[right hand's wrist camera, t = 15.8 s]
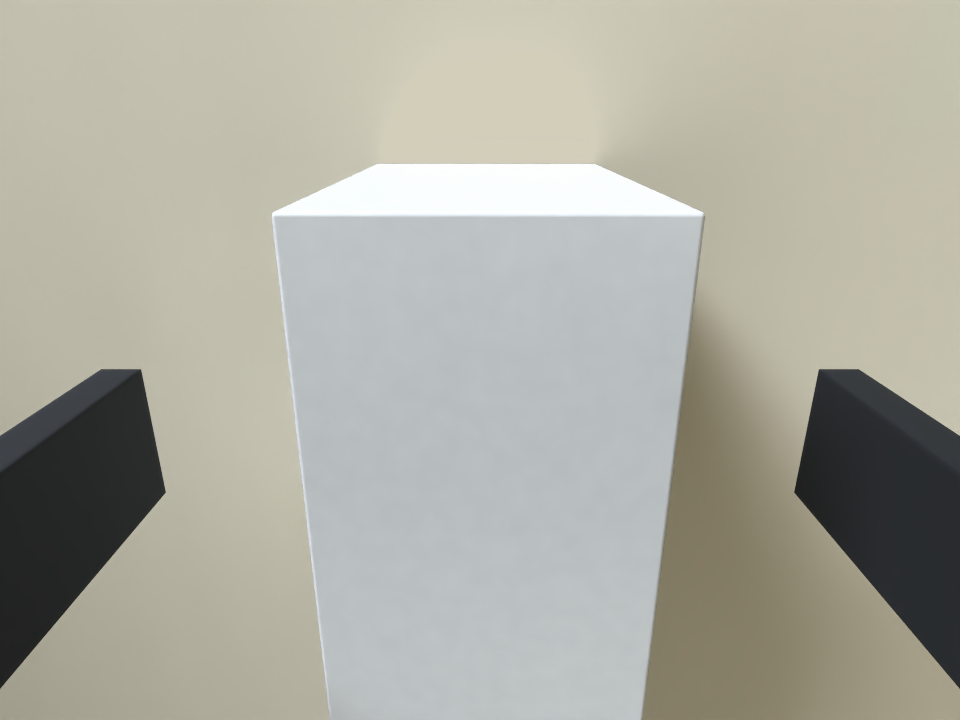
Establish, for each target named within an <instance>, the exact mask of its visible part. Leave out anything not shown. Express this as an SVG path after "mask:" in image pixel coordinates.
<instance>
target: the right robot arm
mask: <svg viewBox="0 0 960 720" xmlns="http://www.w3.org/2000/svg"><path fill="white" fill-rule="evenodd" d="M165 493H166V492H165V487H164V482H163V477H162V472H161V467H160V462H159V457H158V452H157V447H156V442H155V437H154V432H153V427H152V422H151V417H150V412H149V407H148V402H147V397H146V392H145V387H144V382H143V377H142V372H141V369H101V370H100V371H98V372H97V373H95V374H94V375H92V376H91V377H89V378H88V379H86V380H84V381H83V382H81V383H80V384H78V385H77V386H75V387H74V388H72V389H71V390H69V391H68V392H66V393H65V394H63V395H62V396H60V397H59V398H57V399H56V400H54V401H53V402H51V403H50V404H48V405H47V406H45V407H44V408H42V409H40V410H39V411H37V412H36V413H34V414H33V415H31V416H30V417H28V418H27V419H25V420H24V421H22V422H21V423H19V424H18V425H16V426H15V427H13V428H12V429H10V430H9V431H7V432H6V433H4V434H3V435H1V436H0V688H1V687H2V686H3V685H4V683H5V682H6V681H7V680H8V679H9V678H10V676H11V675H12V674H13V673H14V672H15V670H16V669H17V668H18V667H19V666H20V664H21V663H22V662H23V661H24V660H25V659H26V657H27V656H28V655H29V654H30V653H31V651H32V650H33V649H34V648H35V647H36V646H37V644H38V643H39V642H40V641H41V640H42V638H43V637H44V636H45V635H46V634H47V633H48V631H49V630H50V629H51V628H52V627H53V625H54V624H55V623H56V622H57V621H58V619H59V618H60V617H61V616H62V615H63V614H64V612H65V611H66V610H67V609H68V608H69V606H70V605H71V604H72V603H73V602H74V601H75V599H76V598H77V597H78V596H79V595H80V593H81V592H82V591H83V590H84V589H85V587H86V586H87V585H88V584H89V583H90V582H91V580H92V579H93V578H94V577H95V576H96V574H97V573H98V572H99V571H100V570H101V569H102V567H103V566H104V565H105V564H106V563H107V561H108V560H109V559H110V558H111V557H112V555H113V554H114V553H115V552H116V551H117V550H118V548H119V547H120V546H121V545H122V544H123V542H124V541H125V540H126V539H127V538H128V537H129V535H130V534H131V533H132V532H133V531H134V529H135V528H136V527H137V526H138V525H139V523H140V522H141V521H142V520H143V519H144V518H145V516H146V515H147V514H148V513H149V512H150V510H151V509H152V508H153V507H154V506H155V505H156V503H157V502H158V501H159V500H160V499H161V497H162V496H163V495H164V494H165ZM794 493H795V494H796V495H797V496H798V497H799V499H800V500H801V501H802V502H803V503H804V505H805V506H806V507H807V508H808V509H809V510H810V512H811V513H812V514H813V515H814V516H815V518H816V519H817V520H818V521H819V522H820V523H821V525H822V526H823V527H824V528H825V529H826V531H827V532H828V533H829V534H830V535H831V537H832V538H833V539H834V540H835V541H836V542H837V544H838V545H839V546H840V547H841V548H842V550H843V551H844V552H845V553H846V554H847V555H848V557H849V558H850V559H851V560H852V561H853V563H854V564H855V565H856V566H857V567H858V569H859V570H860V571H861V572H862V573H863V574H864V576H865V577H866V578H867V579H868V580H869V582H870V583H871V584H872V585H873V586H874V587H875V589H876V590H877V591H878V592H879V593H880V595H881V596H882V597H883V598H884V599H885V601H886V602H887V603H888V604H889V605H890V606H891V608H892V609H893V610H894V611H895V612H896V614H897V615H898V616H899V617H900V618H901V619H902V621H903V622H904V623H905V624H906V625H907V627H908V628H909V629H910V630H911V631H912V633H913V634H914V635H915V636H916V637H917V638H918V640H919V641H920V642H921V643H922V644H923V646H924V647H925V648H926V649H927V650H928V651H929V653H930V654H931V655H932V656H933V657H934V659H935V660H936V661H937V662H938V663H939V665H940V666H941V667H942V668H943V669H944V670H945V672H946V673H947V674H948V675H949V676H950V678H951V679H952V680H953V681H954V682H955V683H956V685H957V686H958V687H959V688H960V436H959V435H957V434H956V433H954V432H953V431H951V430H950V429H948V428H947V427H945V426H944V425H942V424H941V423H939V422H938V421H936V420H935V419H933V418H932V417H930V416H929V415H927V414H926V413H924V412H923V411H921V410H920V409H918V408H916V407H915V406H913V405H912V404H910V403H909V402H907V401H906V400H904V399H903V398H901V397H900V396H898V395H897V394H895V393H894V392H892V391H891V390H889V389H888V388H886V387H885V386H883V385H882V384H880V383H879V382H877V381H876V380H874V379H872V378H871V377H869V376H868V375H866V374H865V373H863V372H862V371H860V370H859V369H819V372H818V377H817V382H816V387H815V392H814V397H813V402H812V407H811V412H810V417H809V422H808V427H807V432H806V437H805V442H804V447H803V452H802V457H801V462H800V467H799V472H798V477H797V482H796V487H795V492H794Z"/></svg>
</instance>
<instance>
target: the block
mask: <svg viewBox="0 0 960 720" xmlns="http://www.w3.org/2000/svg"><path fill="white" fill-rule="evenodd" d="M704 221H705V215H704V213H703V212H701V211H699V210H696V209H694V208H692V207H690V206H687V205H685V204H683V203H681V202H678V201H676V200H674V199H672V198H670V197H667V196H665V195H663V194H661V193H658V192H656V191H654V190H652V189H650V188H647V187H645V186H643V185H641V184H638V183H636V182H634V181H632V180H629V179H627V178H625V177H623V176H620V175H618V174H616V173H614V172H612V171H609V170H607V169H605V168H603V167H600V166H598V165H596V164H377V165H374V166H372V167H370V168H368V169H366V170H364V171H361V172H359V173H357V174H355V175H353V176H351V177H349V178H346V179H344V180H342V181H340V182H338V183H336V184H333V185H331V186H329V187H327V188H325V189H323V190H320V191H318V192H316V193H314V194H312V195H310V196H307V197H305V198H303V199H301V200H299V201H297V202H294V203H292V204H290V205H288V206H286V207H284V208H281V209H279V210H277V211H275V212H273V214H272V224H273V232H274V241H275V250H276V258H277V267H278V276H279V284H280V293H281V301H282V310H283V319H284V327H285V336H286V345H287V353H288V362H289V371H290V379H291V388H292V397H293V405H294V414H295V423H296V431H297V440H298V449H299V457H300V466H301V475H302V483H303V492H304V501H305V509H306V518H307V527H308V535H309V544H310V553H311V561H312V570H313V579H314V587H315V596H316V605H317V613H318V622H319V630H320V639H321V648H322V656H323V665H324V674H325V682H326V691H327V700H328V708H329V717H330V720H642V718H643V710H644V702H645V694H646V686H647V678H648V670H649V662H650V654H651V646H652V638H653V630H654V622H655V614H656V606H657V598H658V590H659V582H660V574H661V566H662V558H663V550H664V542H665V534H666V526H667V518H668V510H669V502H670V493H671V485H672V477H673V469H674V461H675V453H676V445H677V437H678V429H679V421H680V413H681V405H682V397H683V389H684V381H685V373H686V365H687V357H688V349H689V341H690V333H691V325H692V317H693V309H694V301H695V293H696V285H697V277H698V269H699V261H700V253H701V245H702V237H703V229H704Z"/></svg>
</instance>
